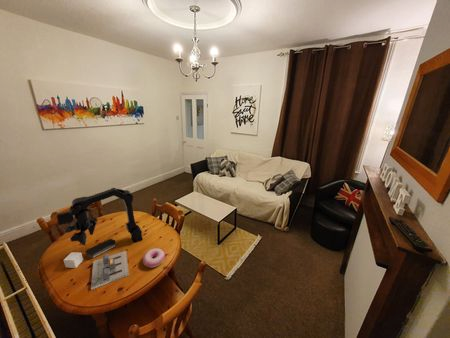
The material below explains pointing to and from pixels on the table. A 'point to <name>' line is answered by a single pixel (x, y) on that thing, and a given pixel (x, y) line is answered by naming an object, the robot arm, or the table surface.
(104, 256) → the block
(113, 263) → the breaker
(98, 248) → the black sponge
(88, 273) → the table surface
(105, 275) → the breaker
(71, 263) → the white cube
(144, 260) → the donut
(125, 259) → the panel
